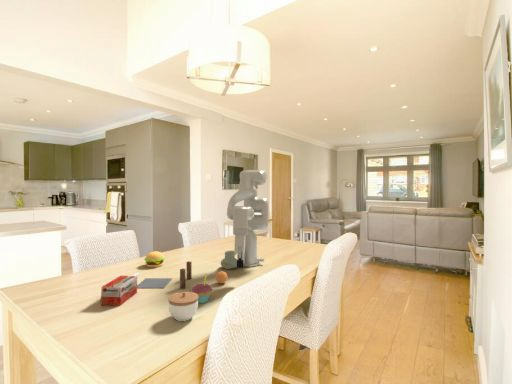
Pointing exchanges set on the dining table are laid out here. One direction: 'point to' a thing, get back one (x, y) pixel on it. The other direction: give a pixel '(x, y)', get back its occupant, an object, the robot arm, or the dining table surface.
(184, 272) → the post
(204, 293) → the cupcake
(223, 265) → the air freshener
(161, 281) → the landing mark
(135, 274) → the stopper wall
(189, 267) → the post
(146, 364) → the dining table surface
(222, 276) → the ball
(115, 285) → the medicine box
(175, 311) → the lidded jar
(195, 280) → the dining table surface
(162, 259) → the hamburger
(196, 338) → the dining table surface
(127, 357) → the dining table surface
